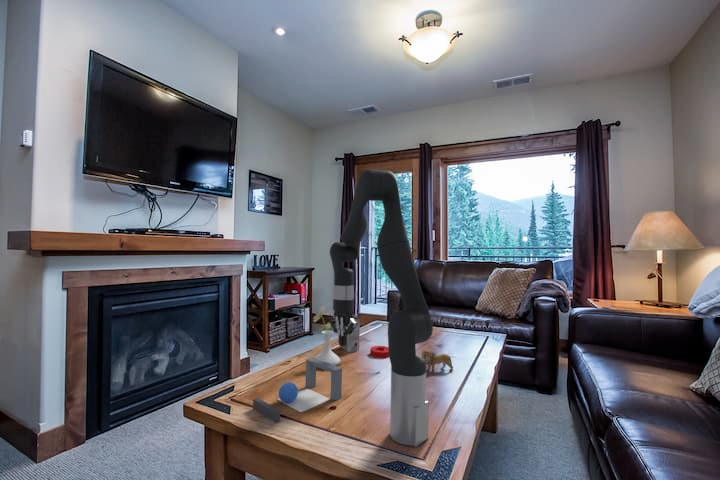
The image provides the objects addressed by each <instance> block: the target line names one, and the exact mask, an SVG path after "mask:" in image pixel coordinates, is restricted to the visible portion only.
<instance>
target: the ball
mask: <svg viewBox="0 0 720 480" xmlns="http://www.w3.org/2000/svg"><path fill="white" fill-rule="evenodd" d="M298 391H299V389H298V387H297V385H296V384H295V382H290V381H288V382H285V383H283V384H282V385H281V386H280V387H279V389H278V397H279V398H280V399H281V400H282V401H283V402H285V403H290V402H292V401H294V400H295V399H296V397H297V395H298ZM279 398H278V399H279Z"/></svg>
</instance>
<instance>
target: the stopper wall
mask: <svg viewBox="0 0 720 480" xmlns="http://www.w3.org/2000/svg"><path fill="white" fill-rule="evenodd" d="M252 409H253V410H254V409H255V410H256V411H255V410H254V411H255V412H257V413H258V412H259V413H258V414H259V415H261V414H262V415H261V416H263V415H264V416H263V417H265V418H266V417H267V418H266V419H268V418H269V419H270V420H269V419H268V420H269V421H271V420H272V421H273V422H272V421H271V422H272V423H274V422H275V423H274V424H277V423H276V422H278V423H280V422H281V410H280V409H278V408H277V407H276V406H275V407H274V405H271V404H270V403H268V402H267V401H265V400H263V399H261V398H259V397H255V398H253V400H252ZM279 421H280V422H279Z"/></svg>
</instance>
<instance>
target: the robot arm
mask: <svg viewBox="0 0 720 480" xmlns="http://www.w3.org/2000/svg"><path fill="white" fill-rule="evenodd" d="M399 191H400V190H399V185H398V181H397V178H396V176H395V174H394V173H393V172H392V171H390V170H384V169H383V170H382V169H365V170H363V171H362V172H361V173H360V174H359V177H358V179H357V181H356V185H355V189H354V193H353V198H352V202H351V207H350V211H349V215H348V219H347V220H346V223H345V226H344V229H343V231H342V234H341V242H339V241H338V242H337V241H336V242H334V243H332V244H331V246H330V249H329V256H330V259H331V264H332V267H333V268H332V269H333V273H334V275H333V277H334V278H333V284H334V285H333V290H332V291H333V292H332V293H333V294H332V310H333V316H331V317H329V319H328V320H329V322H330V324H331V327H332V329H333V333H336V334H337V335H338V341H337V342H338V345H339V347H341V346H345V345H346V344H347V335H349V334H351V333H352V332H353V330H354V329H355V328H356V326H357V325H358V322H355V321H354V320H353V315H354V314H353V311H354V308H355V307H354V306H355V289H354V288H355V287H354V281H355V280H354V279H355V278H354V277H355V276H354V274H355V273H354V270H353V269H351V268H348V267H345V266H343V263H348V262H349V263H351V262H352V263H353V262H356V260H358V258H359V256H360V249H361V248H360V247H361V242H362V239H363V238H364V236H365V234H366V231H367V228H368V219H367V217H366V216H367V215H366V213H365V207H366V205H367V203H368V202H369V201H371V202H372V201H373V202H375V201H376V202H378V201H379V202H381V203H382V205H383V212H384V220H383V222H382V224H381V228H380V230H379V233H378V237H377V241H376V248H377V252H378V257H379V261H380V264H381V268H382V270H383V271H384V273H385V274H386V275H387V277H388V278H389V279H390V281H391V282H392V283H393V284H394V286H395V287H396V290H397V291H398V293H399V295H400V297H401V300H402V301H401V302H402V305H403V309H401V310H396V311H394V312H393V313H392V314H391V315H390V317H389V319H388V323H387V343H388V344H387V345H388V346H387V347H388V352H389V357H388V358H389V361H390V369H391V370H390V372H391V373H390V405H389V406H390V408H389V410H390V411H389V412H390V413H389V414H390V416H389V417H390V418H389V420H390V421H389V425H390V426H389V435H390V438H391V439H392V440H393V441H394V442H396V443H398V444H401V445H404V446H412V447H414V448H417V447H419V446H420V445H421V444H422V443H424V442H425V441H426V440H427V439H429V435H430V434H429V433H430V432H429V431H430V430H429V428H430V427H429V426H430V425H429V424H430V401H429V400H427V399H426V398H427V364H426V361H425V360H424V359H423V358H422V356H419V355H417V351H416V350H417V349H416V345H417V344H421V343H424V342H426V341H428V340H429V339H430V338H432V335H433V332H434V325H433V319H432V316H431V313H430V310H429V308H428V304H427V302H426V299H425V296H424V293H423V290H422V287H421V284H420V281H419V275H418V273H417V269H416V266H415V262H414V258H413V251H412V248H411V244H410V241H409V237H408V233H407V230H406V226H405V225H406V224H405V221H404V217H403V212H402V205H401V197H400V192H399ZM352 314H353V315H352Z"/></svg>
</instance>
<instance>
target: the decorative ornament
mask: <svg viewBox="0 0 720 480" xmlns="http://www.w3.org/2000/svg"><path fill="white" fill-rule="evenodd" d="M369 351H370V352H369V355H370V356H371V357H372V358H377V359H386V358H389V352H388V346H385V345H374V346H371V347H370V350H369Z"/></svg>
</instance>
